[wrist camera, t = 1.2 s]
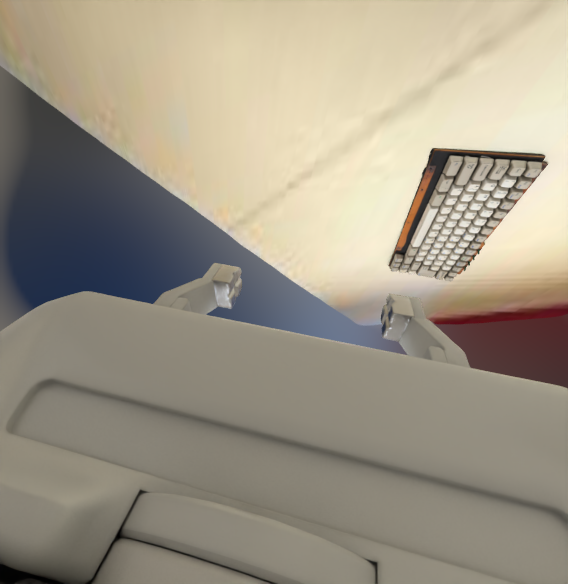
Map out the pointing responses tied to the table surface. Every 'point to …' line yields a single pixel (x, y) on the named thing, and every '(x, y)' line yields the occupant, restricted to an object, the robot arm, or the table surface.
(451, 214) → the mechanical keyboard
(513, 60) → the table surface
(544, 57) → the table surface
